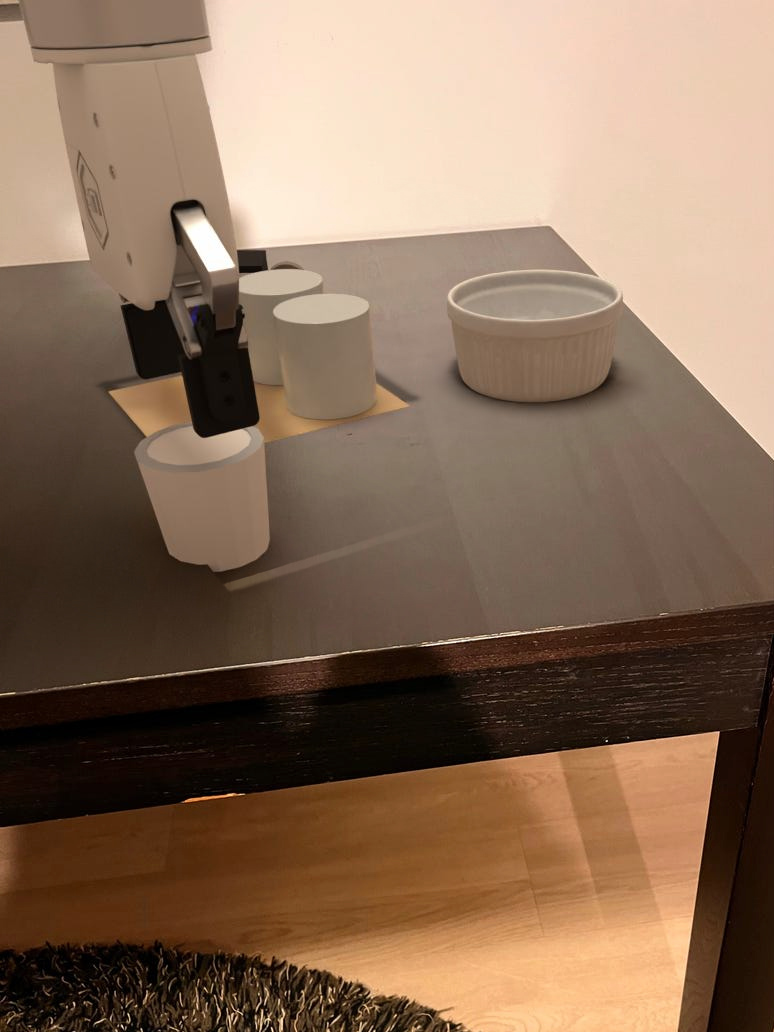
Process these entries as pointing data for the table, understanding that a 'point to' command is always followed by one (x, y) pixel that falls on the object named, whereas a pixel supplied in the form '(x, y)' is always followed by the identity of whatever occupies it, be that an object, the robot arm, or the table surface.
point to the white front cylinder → (326, 355)
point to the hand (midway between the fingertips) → (195, 399)
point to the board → (169, 404)
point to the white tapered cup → (208, 494)
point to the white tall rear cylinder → (270, 314)
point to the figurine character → (252, 268)
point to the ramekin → (534, 333)
